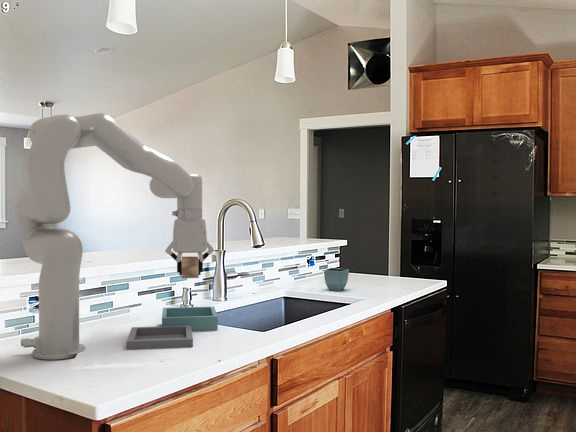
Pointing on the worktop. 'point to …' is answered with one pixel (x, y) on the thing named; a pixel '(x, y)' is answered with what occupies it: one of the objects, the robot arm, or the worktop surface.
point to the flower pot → (336, 278)
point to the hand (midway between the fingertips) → (189, 274)
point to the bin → (160, 337)
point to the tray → (191, 317)
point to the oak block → (190, 267)
